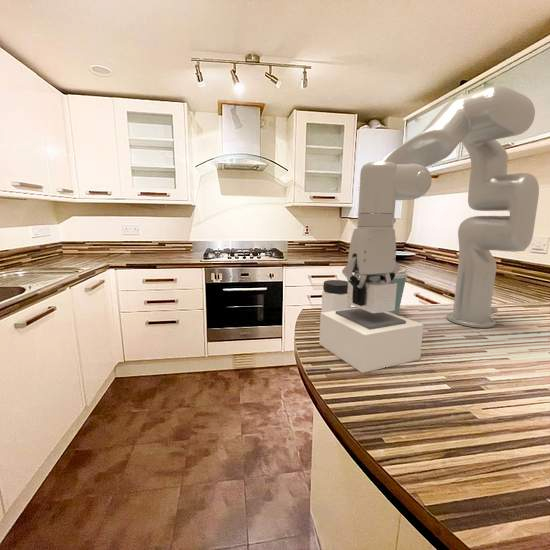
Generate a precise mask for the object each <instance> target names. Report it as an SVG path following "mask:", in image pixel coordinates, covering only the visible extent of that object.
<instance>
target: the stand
mask: <svg viewBox="0 0 550 550" xmlns="http://www.w3.org/2000/svg"><path fill="white" fill-rule="evenodd" d="M319 313H320V314H319V315H320V320H319V343H318V344H319V345H320V346H322V347H323V348H325V349H326V350H327V351H329V352H330V353H332V354H333V355H335V356H336V357H338V358H340V359H341V360H342V361H344V362H346V363H347V364H348V365H349V366H350V367H353V368H355V369H356V370H357V371H358V372H360V373H361V374H364V373H368V372H372V371H378V370H380V369H384V368H385V367H386V368H389V367H390V368H391V367H394V366H398V365H401V364H405V363H411V362H414V361H417V360H418V361H419V360H421V354H422V353H421V351H422V345H423V344H422V343H423V342H422V341H423V332H424V324H422V323H420V322H419V321H418V322H417V321H415V320H413V319H409V318H407V317H404V316H401V315H398V314H397V315H396V314H393V313H390V312H388V311H387V312H380V313H371V312H368V311H366V310H363V309H361V308H358V307H355V308H351V309H345V310H338V311H330V312H323V313H322V312H319Z"/></svg>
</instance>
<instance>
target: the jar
mask: <svg viewBox="0 0 550 550" xmlns="http://www.w3.org/2000/svg"><path fill="white" fill-rule="evenodd" d="M322 286H323V287H322V288H323V289H322V291H321V292H322V293H321V313H323V312H330V311H338V310H345V309H352V305H351V304H348V303H347V291H348V280H341V279H329V280H324V282H323V285H322Z"/></svg>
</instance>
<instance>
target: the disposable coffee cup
mask: <svg viewBox="0 0 550 550" xmlns="http://www.w3.org/2000/svg"><path fill="white" fill-rule="evenodd" d="M383 277H384V276H383ZM407 278H408V272H407V269H405V268H403V267H402V268H401V267H400V270H399V271H398V273H397V274H396V275H395V277H394V279H393V280H392V281H391V282H393V283H397V289H396V301H395V311H388V312H390V313H393V314H396V315H398V314H399V313H400V307H401V303H402V298H403V294H404V290H405V284H406V280H407Z"/></svg>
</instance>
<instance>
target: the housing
mask: <svg viewBox="0 0 550 550" xmlns="http://www.w3.org/2000/svg"><path fill="white" fill-rule="evenodd" d="M359 278H360V276H359ZM359 278H358V280H359ZM347 281H348V280H347ZM362 288H365V293H364V305H363V306H359V305H357V304H354V303H353V302H352V300H353V299H352V297H353V286H351V283H350V282H349V281H348V291H347V303H348V304H351V306H353V307H355V308H361V309H363V310H366V311H368V312H371V313H380V312H387V311H395V301H396V289H397V283H393V282H389V281H385V280H381V279H380V274H378V275H367V277H366V279H365V282H364V284H363V287H362Z"/></svg>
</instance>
